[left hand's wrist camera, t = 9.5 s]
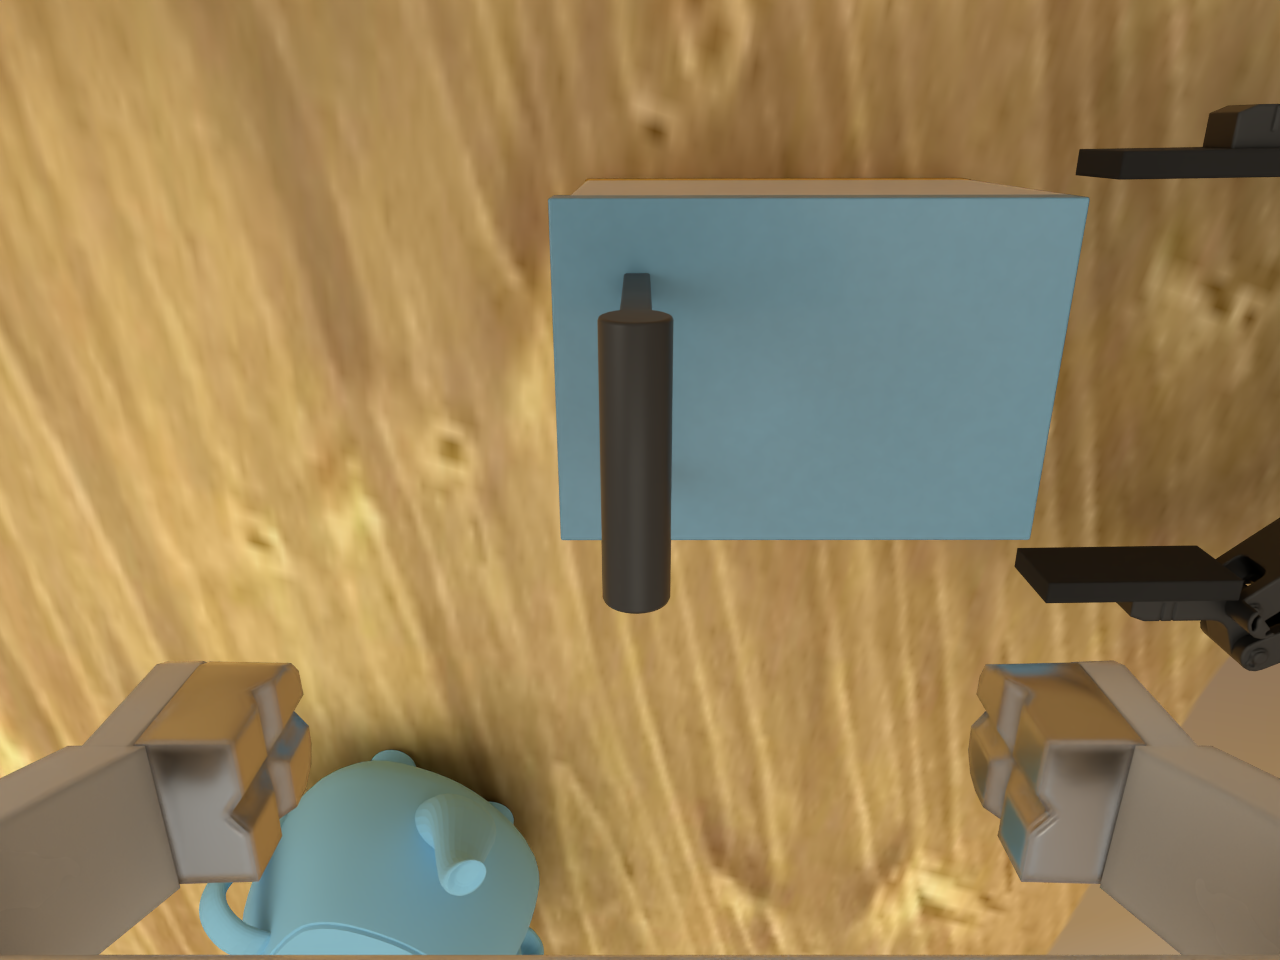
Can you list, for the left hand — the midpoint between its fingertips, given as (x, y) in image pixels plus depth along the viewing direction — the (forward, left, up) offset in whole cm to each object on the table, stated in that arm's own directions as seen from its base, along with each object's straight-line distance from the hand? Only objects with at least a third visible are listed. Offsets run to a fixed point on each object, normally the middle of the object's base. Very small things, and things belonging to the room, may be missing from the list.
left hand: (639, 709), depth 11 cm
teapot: (+8, -26, -25) cm, 37 cm away
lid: (+4, +3, -16) cm, 17 cm away
